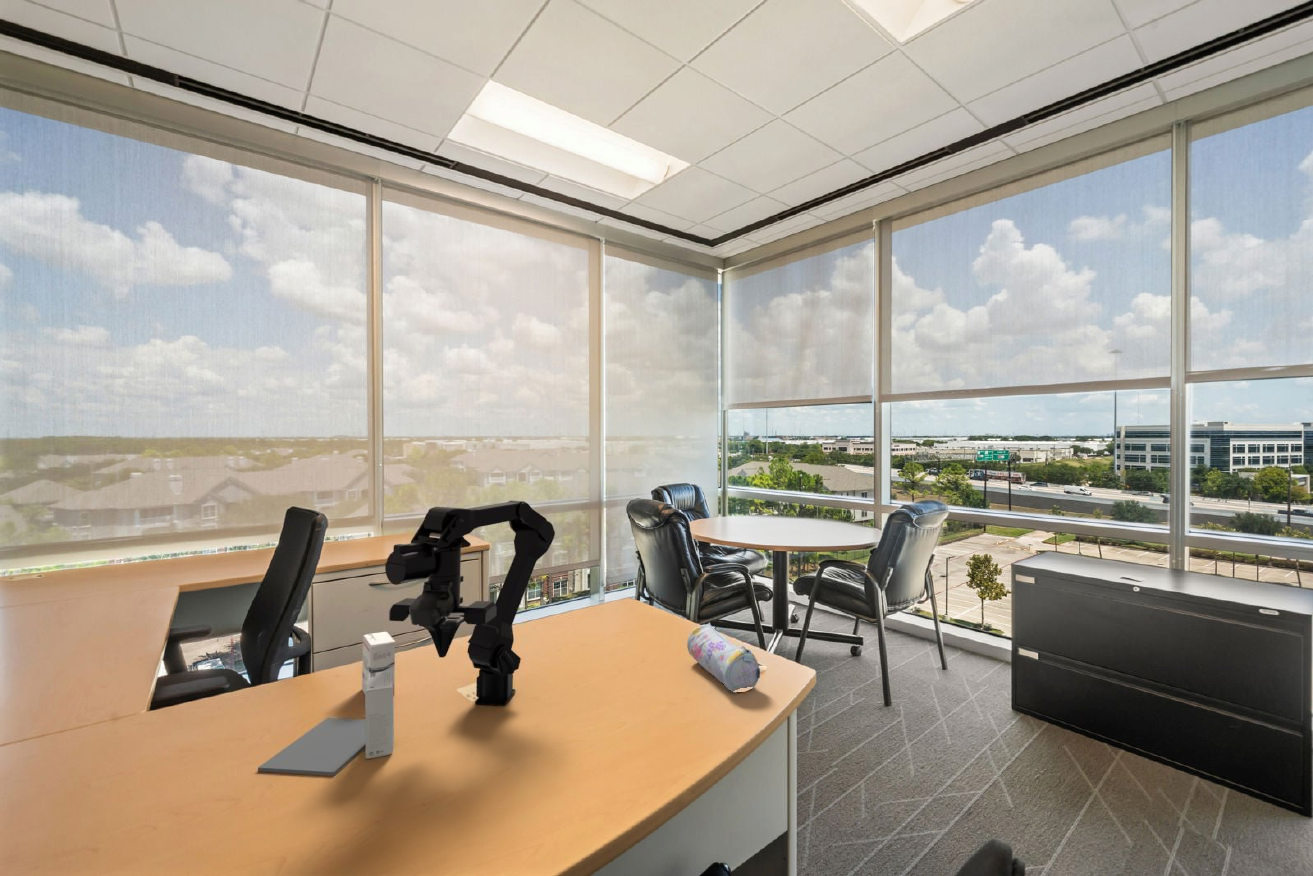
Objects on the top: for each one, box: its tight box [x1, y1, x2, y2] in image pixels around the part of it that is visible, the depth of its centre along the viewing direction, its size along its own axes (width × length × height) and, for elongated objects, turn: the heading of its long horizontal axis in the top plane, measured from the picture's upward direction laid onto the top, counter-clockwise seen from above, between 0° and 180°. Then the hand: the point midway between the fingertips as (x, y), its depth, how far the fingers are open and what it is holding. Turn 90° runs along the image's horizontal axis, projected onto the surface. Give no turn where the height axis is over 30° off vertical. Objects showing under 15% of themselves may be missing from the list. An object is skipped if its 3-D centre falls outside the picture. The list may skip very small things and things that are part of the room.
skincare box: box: [364, 671, 395, 760], centre depth 91 cm, size 6×4×12 cm
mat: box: [257, 717, 365, 777], centre depth 92 cm, size 13×16×1 cm
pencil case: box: [686, 623, 761, 692], centre depth 123 cm, size 21×9×10 cm, turn 23°
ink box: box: [361, 631, 396, 695], centre depth 113 cm, size 8×5×12 cm, turn 39°
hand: (442, 656), depth 99 cm, fingers closed
